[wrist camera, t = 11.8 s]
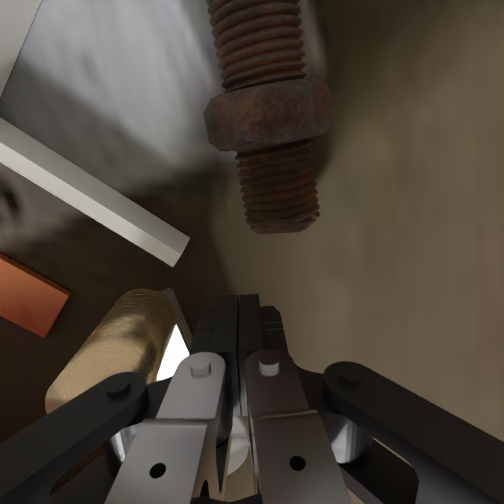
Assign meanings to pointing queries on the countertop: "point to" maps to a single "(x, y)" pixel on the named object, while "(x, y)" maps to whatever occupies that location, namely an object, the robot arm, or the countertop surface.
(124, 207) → the corral
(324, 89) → the bolt
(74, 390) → the crank
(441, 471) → the robot arm
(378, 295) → the countertop surface
